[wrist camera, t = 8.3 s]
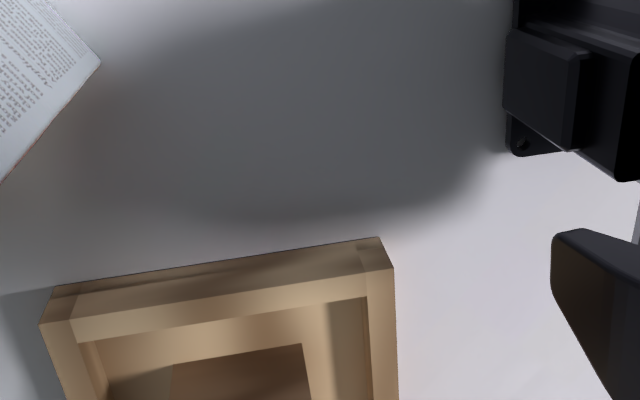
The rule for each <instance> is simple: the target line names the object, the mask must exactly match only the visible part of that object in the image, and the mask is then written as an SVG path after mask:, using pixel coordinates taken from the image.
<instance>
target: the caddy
mask: <svg viewBox="0 0 640 400" xmlns="http://www.w3.org/2000/svg"><path fill="white" fill-rule="evenodd" d="M38 327H39V329H40V332H41V334H42V337H43V339H44V342H45V345H46V347H47V350H48V352H49V355H50V357H51V360H52V362H53V365H54V368H55V370H56V373H57V375H58V378H59V380H60V383H61V386H62V388H63V391H64V393H65V396H66V398H67V400H169V395H170V387H171V379H172V370H173V364H179V363H185V362H191V361H196V360H202V359H208V358H214V357H220V356H226V355H232V354H238V353H244V352H250V351H256V350H262V349H268V348H274V347H280V346H286V345H292V344H298V343H302V347H303V353H304V359H305V364H306V370H307V376H308V381H309V387H310V393H311V398H312V400H399V390H398V364H397V337H396V311H395V285H394V267H393V265H392V263H391V261H390V259H389V257H388V255H387V253H386V251H385V248H384V246H383V244H382V242H381V240H380V238H379V237H374V238H368V239H361V240H355V241H348V242H342V243H335V244H329V245H322V246H316V247H309V248H303V249H296V250H290V251H283V252H277V253H270V254H264V255H257V256H251V257H244V258H238V259H231V260H225V261H218V262H212V263H205V264H199V265H192V266H186V267H179V268H173V269H166V270H160V271H153V272H147V273H140V274H134V275H127V276H121V277H114V278H108V279H101V280H94V281H88V282H81V283H75V284H68V285H62V286H55V288H54V290H53V293H52V295H51V297H50V299H49V301H48V303H47V306H46V308H45V310H44V312H43V314H42V316H41V319H40V321H39V323H38Z"/></svg>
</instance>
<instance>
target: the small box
mask: <svg viewBox="0 0 640 400" xmlns="http://www.w3.org/2000/svg"><path fill="white" fill-rule="evenodd" d="M100 65H101V61H100V59H99V58H98V56H97V55H96V54H95V53H94V52H93V51H92V50H91V49H90V48H89V47H88V46H87V45H86V44H85V43H84V42H83V41H82V39H81V38H80V37H79V36H78V35H77V34H76V33H75V32H74V31H73V30H72V29H71V28H70V27H69V26H68V25H67V24H66V23H65V21H64V20H63V19H62V18H61V17H60V16H59V15H58V14H57V13H56V12H55V11H54V10H53V9H52V8H51V7H50V6H49V5H48V4H47V2H46V1H45V0H0V185H1V183H2V182H3V181H4V180H5V179H6V177H7V176H8V175H9V174H10V172H11V171H12V170H13V169H14V168H15V167H16V166H17V164H18V163H19V162H20V161H21V159H22V158H23V157H24V156H25V155H26V154H27V152H28V151H29V150H30V149H31V148H32V146H33V145H34V144H35V143H36V142H37V140H38V139H39V138H40V137H41V135H42V134H43V133H44V131H45V130H46V129H47V128H48V127H49V125H50V124H51V122H52V121H53V120H54V119H55V117H56V116H57V115H58V114H59V113H60V112H61V111H62V110H63V109H64V108H65V107H66V105H67V104H68V103H69V102H70V101H71V99H72V98H73V97H74V96H75V95H76V93H77V92H78V91H79V90H80V88H81V87H82V86H83V85H84V83H85V82H86V81H87V80H88V78H89V77H90V76H91V75H92V74H93V73H94V72H95V71H96V70H97V69H98V68H99V66H100Z"/></svg>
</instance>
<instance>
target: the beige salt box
mask: <svg viewBox="0 0 640 400" xmlns="http://www.w3.org/2000/svg"><path fill="white" fill-rule="evenodd" d="M169 400H312V398H311V393H310V387H309V381H308V376H307V370H306V364H305V359H304V353H303V347H302V343H298V344H292V345H286V346H280V347H274V348H268V349H262V350H256V351H250V352H244V353H238V354H232V355H226V356H220V357H214V358H208V359H202V360H196V361H191V362H185V363H179V364H173V370H172V379H171V387H170V395H169Z"/></svg>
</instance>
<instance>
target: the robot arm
mask: <svg viewBox="0 0 640 400" xmlns="http://www.w3.org/2000/svg"><path fill="white" fill-rule="evenodd" d="M502 106H503V108H504V109H505V110H506V111H507V122H506V139H505V143H506V147H507V149H508V150H509V151H510V152H511V153H512V154H513V155H515V156H517V157H526V156H533V155H540V154H547V153H554V152H561V151H564V152H572V151H573V152H574V153H576V154H577V155H579V156H580V157H582V158H583V159H585V160H586V161H588V162H589V163H591V164H592V165H594V166H595V167H597V168H598V169H600V170H601V171H602V172H604V173H605V174H607V175H608V176H610V177H611V178H613V179H614V180H616V181H617V182H629V181H637V182H638V183H640V0H514V3H513V20H512V29H511V30H510V32H509V33H508V34H507V36H506V45H505V63H504V81H503V100H502ZM523 137H525V142H524V143H523V145H521V146H519V147H517V142H518V141H519V140H520V139H521V138H523ZM550 285H551V290H552V294H553V296H554V298H555V300H556V302H557V304H558V306H559V308H560V309H561V311H562V313H563V315H564V317H565V318H566V320H567V322H568V324H569V326H570V327H571V329H572V331H573V333H574V334H575V336H576V338H577V340H578V342H579V343H580V345H581V347H582V349H583V351H584V352H585V354H586V356H587V358H588V360H589V361H590V363H591V365H592V367H593V369H594V370H595V372H596V374H597V376H598V377H599V379H600V381H601V382H602V384H603V386H604V387H605V389H606V390H607V392H608V393H609V395H610V396H611V398H612V399H613V400H640V202H639V207H638V212H637V217H636V222H635V227H634V232H633V236H632V241H631V243H630V242H627V241H624V240H621V239H618V238H614V237H611V236H608V235H605V234H601V233H598V232H595V231H592V230H589V229H585V228H579V229H574V230H570V231H565V232H561V233H557V234H556V235H555V236H554V237H553V239H552V243H551V268H550Z"/></svg>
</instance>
